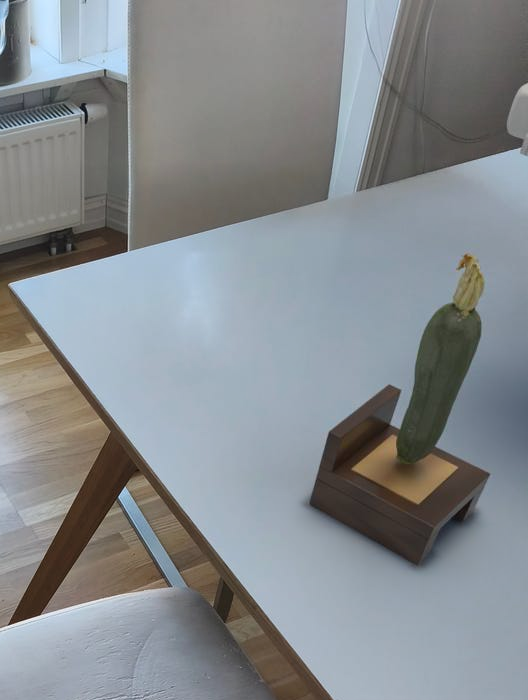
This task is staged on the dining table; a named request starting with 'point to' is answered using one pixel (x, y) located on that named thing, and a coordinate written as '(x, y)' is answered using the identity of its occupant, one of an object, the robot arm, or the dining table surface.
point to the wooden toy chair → (391, 482)
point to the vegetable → (442, 365)
